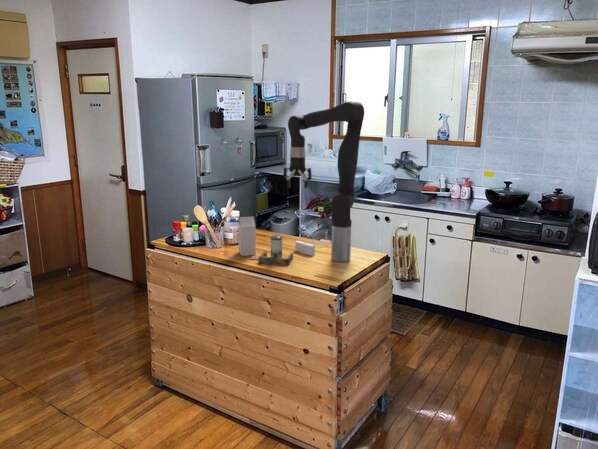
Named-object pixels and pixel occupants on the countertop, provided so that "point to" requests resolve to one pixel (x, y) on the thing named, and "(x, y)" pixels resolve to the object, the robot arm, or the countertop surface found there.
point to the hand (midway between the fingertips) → (297, 187)
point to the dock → (275, 259)
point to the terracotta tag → (255, 257)
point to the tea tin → (276, 246)
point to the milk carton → (247, 236)
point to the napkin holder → (304, 248)
